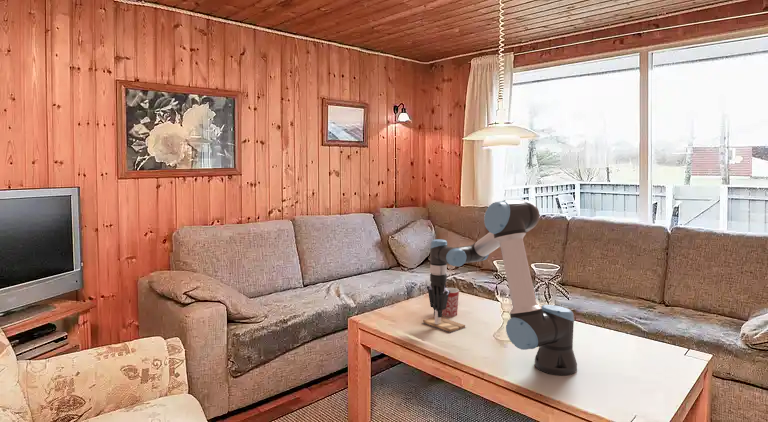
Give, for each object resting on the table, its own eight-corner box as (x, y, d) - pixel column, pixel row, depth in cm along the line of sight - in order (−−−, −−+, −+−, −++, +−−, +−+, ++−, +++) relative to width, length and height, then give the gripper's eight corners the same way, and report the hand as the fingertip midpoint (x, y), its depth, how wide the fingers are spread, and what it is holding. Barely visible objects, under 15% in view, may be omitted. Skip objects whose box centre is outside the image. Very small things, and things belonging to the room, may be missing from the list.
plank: (459, 329, 227) (459, 326, 227) (450, 331, 223) (450, 329, 223) (432, 320, 240) (432, 318, 240) (423, 322, 236) (423, 320, 236)
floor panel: (466, 329, 229) (466, 325, 229) (450, 335, 222) (450, 330, 222) (437, 320, 243) (437, 315, 243) (421, 325, 236) (421, 320, 236)
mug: (461, 314, 251) (461, 288, 250) (455, 320, 243) (455, 293, 242) (437, 311, 257) (438, 286, 256) (431, 316, 249) (431, 290, 247)
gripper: (454, 274, 225) (453, 325, 228) (433, 269, 235) (433, 318, 238) (443, 277, 220) (442, 328, 223) (422, 272, 230) (422, 321, 233)
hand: (437, 323), depth 230 cm, fingers closed
